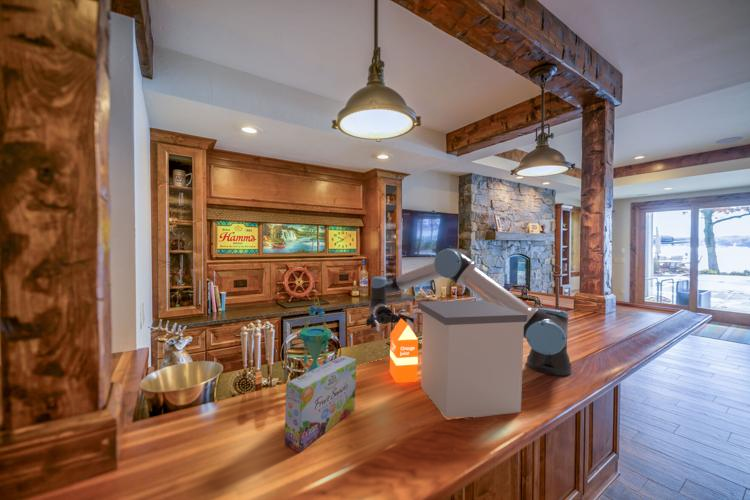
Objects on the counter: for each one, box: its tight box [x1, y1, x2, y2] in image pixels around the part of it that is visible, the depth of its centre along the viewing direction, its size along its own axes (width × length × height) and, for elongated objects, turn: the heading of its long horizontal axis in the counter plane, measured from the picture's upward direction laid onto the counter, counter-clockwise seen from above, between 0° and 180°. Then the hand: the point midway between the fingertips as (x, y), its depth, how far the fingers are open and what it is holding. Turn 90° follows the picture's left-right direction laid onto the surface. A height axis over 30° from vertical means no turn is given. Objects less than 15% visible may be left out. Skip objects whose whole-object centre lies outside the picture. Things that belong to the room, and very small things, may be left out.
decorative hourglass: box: [299, 296, 333, 375], centre depth 96 cm, size 11×11×30 cm
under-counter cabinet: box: [417, 299, 527, 418], centre depth 93 cm, size 25×21×28 cm
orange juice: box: [389, 319, 419, 384], centre depth 106 cm, size 8×9×20 cm
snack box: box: [284, 355, 358, 454], centre depth 77 cm, size 21×6×15 cm, turn 148°
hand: (395, 327), depth 116 cm, fingers open, 13 cm apart
